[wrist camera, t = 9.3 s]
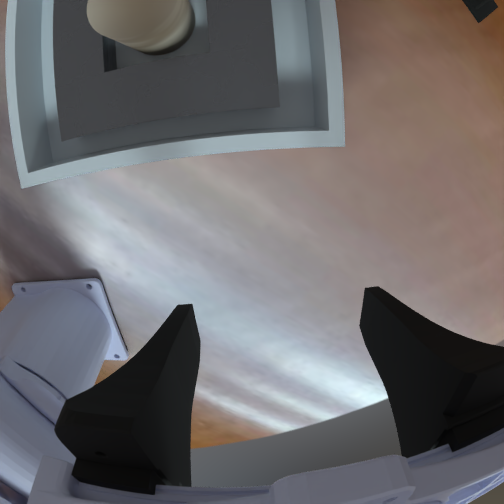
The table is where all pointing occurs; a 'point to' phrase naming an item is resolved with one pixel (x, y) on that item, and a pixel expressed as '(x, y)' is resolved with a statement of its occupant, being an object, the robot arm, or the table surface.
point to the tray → (178, 128)
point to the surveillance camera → (480, 8)
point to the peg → (144, 23)
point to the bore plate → (162, 71)
